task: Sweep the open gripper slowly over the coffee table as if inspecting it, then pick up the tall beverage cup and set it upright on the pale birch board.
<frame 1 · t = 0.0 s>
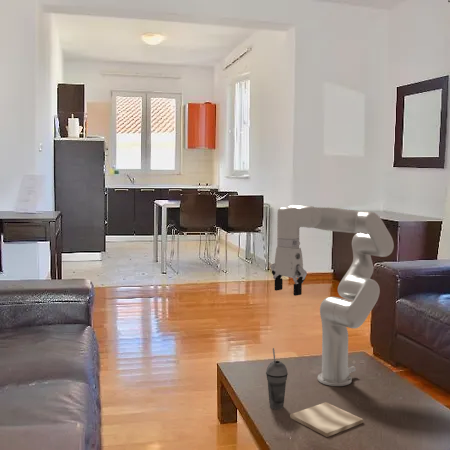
hand: (287, 292, 193), 37 cm above the table, tool pointing down, fingers open, 9 cm apart
beverage cup: (276, 407, 188), on the table
birch board: (326, 420, 177), on the table
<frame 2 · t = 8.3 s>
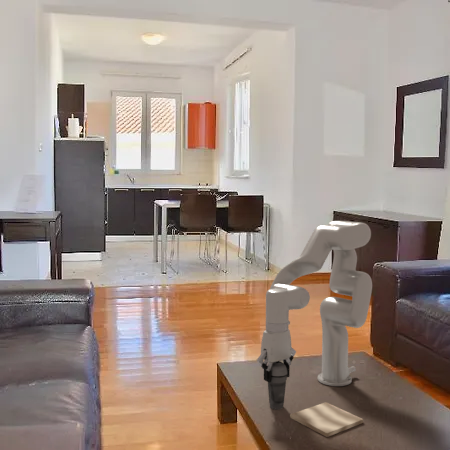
hand: (276, 378, 187), 10 cm above the table, tool pointing down, fingers closed on beverage cup, 7 cm apart
beverage cup: (276, 407, 188), on the table, touching gripper
when the fingers open (12 cm above the table, at t = 16.1 s): beverage cup drops 1 cm, resting on birch board.
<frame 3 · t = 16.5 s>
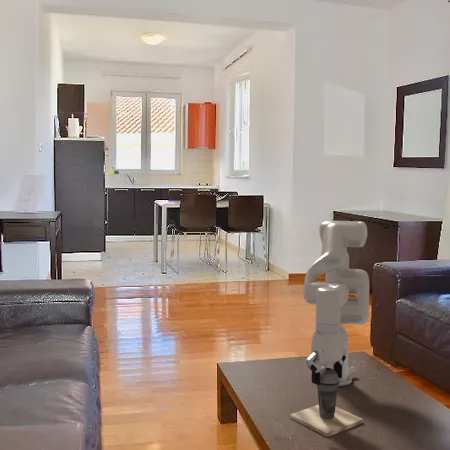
hand: (326, 380, 176), 13 cm above the table, tool pointing down, fingers open, 9 cm apart
beverage cup: (327, 416, 178), point 1 cm above the table, touching birch board
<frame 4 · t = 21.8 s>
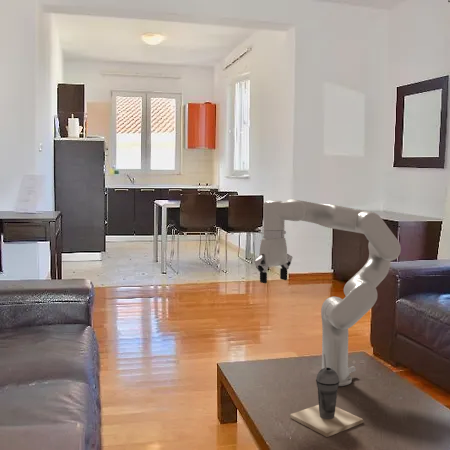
hand: (273, 281, 205), 38 cm above the table, tool pointing down, fingers open, 9 cm apart
nothing on the table moved.
at the end: beverage cup inside the target area on the birch board (0.4 cm from its centre), point 1.0 cm above the birch board's base; beverage cup tilted 0°; the gripper is holding nothing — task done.
